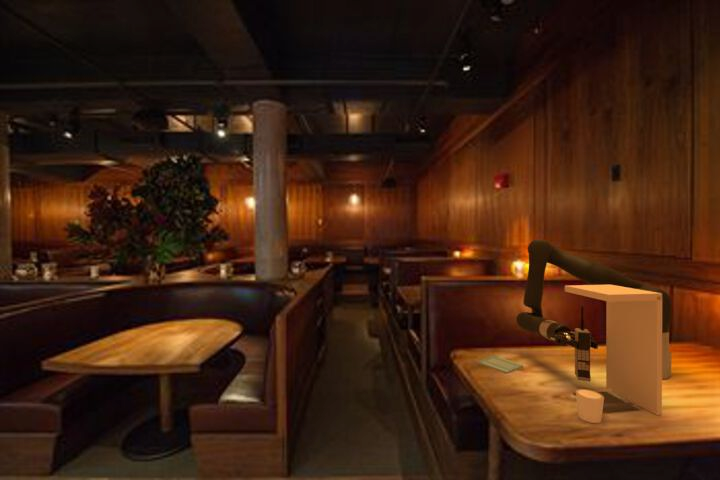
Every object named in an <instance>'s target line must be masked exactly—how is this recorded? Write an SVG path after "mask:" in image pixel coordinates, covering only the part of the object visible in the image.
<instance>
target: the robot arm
mask: <svg viewBox="0 0 720 480" xmlns="http://www.w3.org/2000/svg"><path fill="white" fill-rule="evenodd" d="M527 253H528V273H527V277H526V283H525V288H524V294H523V303H522V304H523V305H524V306H525V307H527V308H529V309H530V310H531V312H525V311H523V312H519V313H518V314H517V315H516V318H515V320H516V324H517V325H518V326H519V328H521V329H523V330H526V331H529V332H533V333H537V334H538V335H540V336H542V337H544V338H545V339H547V340H549V341H550V342H551V343H554V344H557V345H560V346H562V347H566V346H568V347H570V348H571V347H572V348H574V349H575V348H576V349H578V350H581V343H579V342H577V341H575V331H572V330H571V328H570V327H569V326H568V325H565V324H563V323H560V322H558V321H555V320H552V319H548V318H545V317H544V314H543V308H542V301H543V295H544V287H545V285H544V282H545V273H546V268H547V265H548V264H550V265H552V266H554V267H555V266H556V267H558V268H559V269H560V270H562V271H564V272H566V273H567V274H569V275H571V276H573V277H575V278H576V279H578V280H580V281H582V282H584V283H586V284H588V285H616V286H622V287H628V288H633V289H639V290H645V291H651V292H657V293H662V380H668V379H669V378H672V351H671V350H670V326H671V323H672V312H673V311H672V308H673V307H672V304H673V303H672V299H671V296H670V295H669V294H668V293H667V292H666V291H665V290H663V289H661V288H659V287H656V286H653V285H650V284H646V283H643V282H640V281H638V280H634V279H632V278H629V277H628V276H625V275H623V274H621V273H620V272H618V271H616V270H615V269H613V268H611V267H609V266H606V265H604V264H602V263H599V262H598V261H595V260H592V259H590V258H587V257H584V256H581V255H577V254H575V253H571V252H568V251H566V250H563V249H561V248H559V247H557V246H556V245H554V244H552V243H550V242H549V241H548V240H546V239H543V238H536V239H533V240H532V241H530V242H529V243H528V246H527ZM590 348H592V349H594V350H597V349H598V348H599V343H598V342H597V341H594V337H593V336H591V347H590Z"/></svg>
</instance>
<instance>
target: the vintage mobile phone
mask: <svg viewBox="0 0 720 480" xmlns="http://www.w3.org/2000/svg"><path fill="white" fill-rule="evenodd" d="M580 309H581V311H580V312H581V313H580V328H577V327H575V328H574V332H575V341H577V342H579V343H581V350H578V349H576V348H574V375H575V377H576V379H577V380H578V381H581V382H582V381H583V382H591V380H592V377H591V348H592V347H591V337H592V336H591V335H592V332H590V331H589V329H587V328H585V323H584V322H585V321H584V306H583V305H582V306H581V307H580Z"/></svg>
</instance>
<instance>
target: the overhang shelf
mask: <svg viewBox="0 0 720 480" xmlns="http://www.w3.org/2000/svg"><path fill="white" fill-rule="evenodd" d="M564 292H565V293H570V294H574V295H580V296H583V297H588V298H592V299H594V300H595V299H596V300H601V301H605V303H606V305H605V307H606V311H605V312H606V316H605V319H606V322H605V323H606V325H605V327H606V331H605V332H606V335H605V337H606V338H605V339H606V341H605V346H606V349H605V351H606V352H605V353H606V355H605V356H606V357H605V360H606V361H605V362H606V363H605V365H606V367H605V369H606V370H605V371H606V372H605V373H606V376H605V378H606V379H605V382H606V384H605V385H606V386H605V388H606V389H607V390H609V389H610V391H611V392H613V393H615V394H617V395H619V396H620V397H622V396H623V397H622V398H624V399H625V400H627V401H624V400H622V398H619V397H618V396H616V395H614V394H612V393H611V392H608V391H597V392H598V393H600V394H601V395H603V396H604V403H603V411H602V414H605V413H621V412H623V413H624V412H637V411H640V409H639V408H638V407H636V406H635V405H637V406H639V407H642V409H645V410H647V411H648V412H650V413H652V414H654V415H655V416H662V415H663V379H662V293H657V292H651V291H645V290H639V289H633V288H628V287H622V286H616V285H591V284H582V285H579V284H578V285H577V284H576V285H564ZM572 394H573V395H574V396H576V392H573V393H572ZM629 401H630V402H629Z"/></svg>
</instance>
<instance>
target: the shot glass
mask: <svg viewBox="0 0 720 480" xmlns="http://www.w3.org/2000/svg"><path fill="white" fill-rule="evenodd" d="M598 392H599V391H594V390H592V389H587V388H580V389H576V390H575V393H576V395H575V397H576V407H577V409H576V410H577V415H578V418H580V419H581V420H583V421H585V422H588V423H592V424H593V423H594V424H599V423H601V422H602V418H603V413H602V411H603V403H604V396H603V395H601V394H600V393H598Z"/></svg>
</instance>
